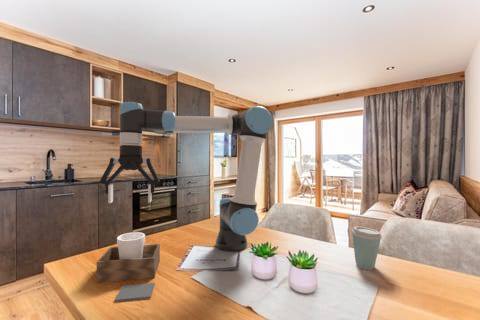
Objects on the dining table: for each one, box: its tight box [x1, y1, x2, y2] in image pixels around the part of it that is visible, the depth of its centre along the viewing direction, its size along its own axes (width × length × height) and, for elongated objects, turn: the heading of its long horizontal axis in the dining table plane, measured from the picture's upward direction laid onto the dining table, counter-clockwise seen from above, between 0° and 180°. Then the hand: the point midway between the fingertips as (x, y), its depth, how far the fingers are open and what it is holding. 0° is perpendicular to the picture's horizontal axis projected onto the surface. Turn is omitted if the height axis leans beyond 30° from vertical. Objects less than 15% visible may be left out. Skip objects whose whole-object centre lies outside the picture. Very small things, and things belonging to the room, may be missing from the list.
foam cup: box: [116, 231, 146, 260], centre depth 88 cm, size 10×9×13 cm
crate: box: [96, 243, 161, 284], centre depth 89 cm, size 19×14×7 cm
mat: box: [114, 282, 156, 303], centre depth 75 cm, size 10×8×1 cm
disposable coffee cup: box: [351, 226, 382, 271], centre depth 94 cm, size 11×11×15 cm
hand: (130, 202), depth 88 cm, fingers open, 13 cm apart
